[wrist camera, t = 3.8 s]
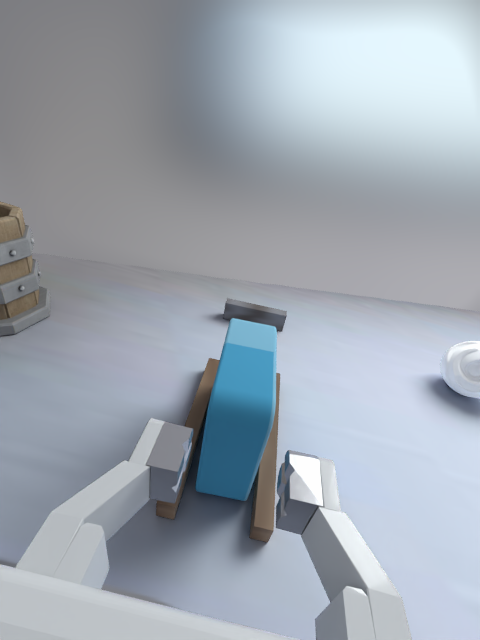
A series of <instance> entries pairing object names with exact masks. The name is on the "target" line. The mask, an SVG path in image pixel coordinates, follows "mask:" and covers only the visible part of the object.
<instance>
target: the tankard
mask: <svg viewBox="0 0 480 640" xmlns="http://www.w3.org/2000/svg"><path fill="white" fill-rule="evenodd" d="M33 244H34V239H33V235H32V230H31V227H30V226H28V225H25V223H24V218H23V213H22V210H21V209H20V208H19V207H16V206H13V205H10V204H6V203H3V202H0V336H3V335H12V334H16V333H18V332H20V331H22V330H24V329H26V328H28V327H30V326H31V325H33V324H35V323H37V322H39V321H41V320H43V319H45V318H46V317H48V316H50V302H51V296H50V291H49V290H48V289H46V288H43V287H40V286H39V283H40V276H41V272H40V269H39V264H38V261H37V260H35V259H32V250H33Z"/></svg>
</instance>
